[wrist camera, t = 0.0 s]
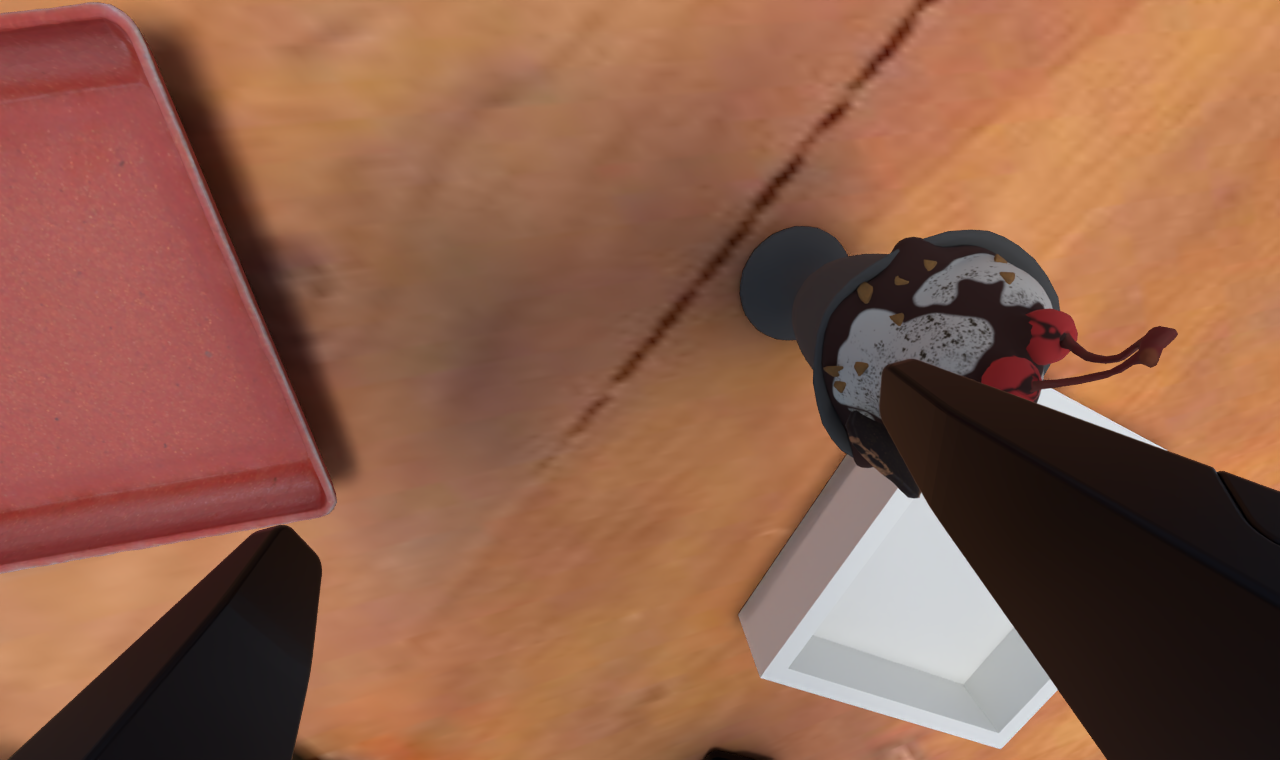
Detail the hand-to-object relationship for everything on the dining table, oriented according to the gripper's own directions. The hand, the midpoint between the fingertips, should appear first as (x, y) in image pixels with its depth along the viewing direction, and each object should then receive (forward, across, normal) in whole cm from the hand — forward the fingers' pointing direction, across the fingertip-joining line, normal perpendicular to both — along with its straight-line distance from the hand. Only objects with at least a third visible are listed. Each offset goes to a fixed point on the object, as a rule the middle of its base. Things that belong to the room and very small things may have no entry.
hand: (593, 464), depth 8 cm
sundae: (+14, -9, +6) cm, 18 cm away
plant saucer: (+16, +20, +1) cm, 26 cm away
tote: (+10, -15, +22) cm, 28 cm away
